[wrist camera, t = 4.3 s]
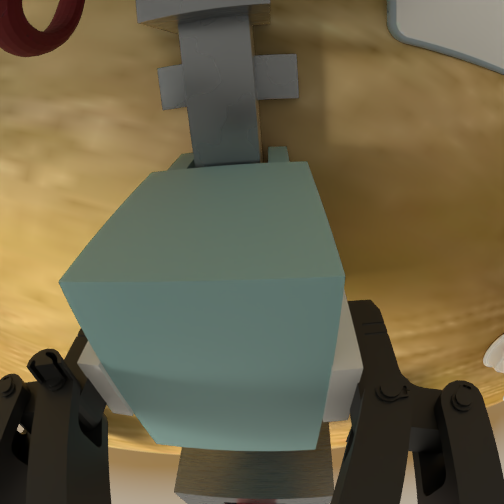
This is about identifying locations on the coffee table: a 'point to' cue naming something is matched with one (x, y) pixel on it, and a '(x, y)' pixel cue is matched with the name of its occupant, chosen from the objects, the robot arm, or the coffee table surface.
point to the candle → (495, 355)
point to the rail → (220, 74)
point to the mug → (30, 39)
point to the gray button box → (257, 475)
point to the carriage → (216, 304)
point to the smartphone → (452, 28)
